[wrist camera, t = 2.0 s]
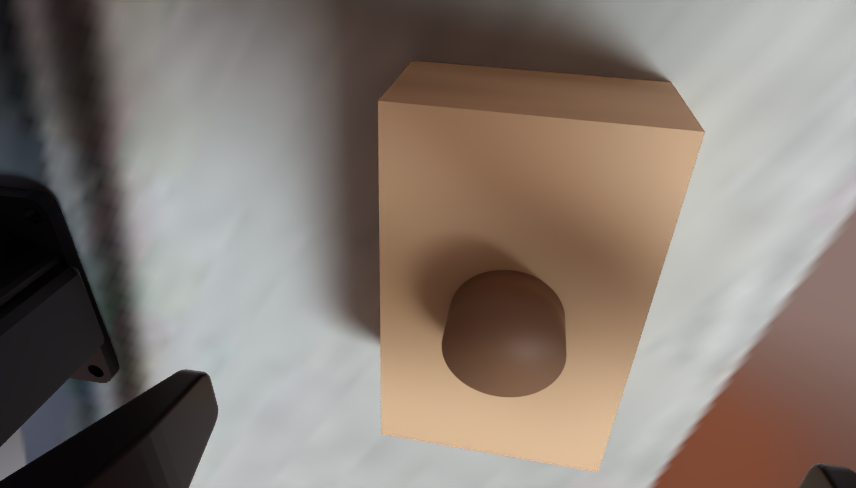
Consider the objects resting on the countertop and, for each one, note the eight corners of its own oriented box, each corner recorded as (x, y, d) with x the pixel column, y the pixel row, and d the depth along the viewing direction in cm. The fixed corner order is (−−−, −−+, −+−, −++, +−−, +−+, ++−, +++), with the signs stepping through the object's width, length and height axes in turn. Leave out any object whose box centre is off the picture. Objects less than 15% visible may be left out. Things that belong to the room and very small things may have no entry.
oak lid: (589, 376, 15) (601, 513, 12) (407, 348, 16) (370, 469, 12) (668, 77, 11) (722, 157, 7) (414, 56, 11) (360, 121, 8)
